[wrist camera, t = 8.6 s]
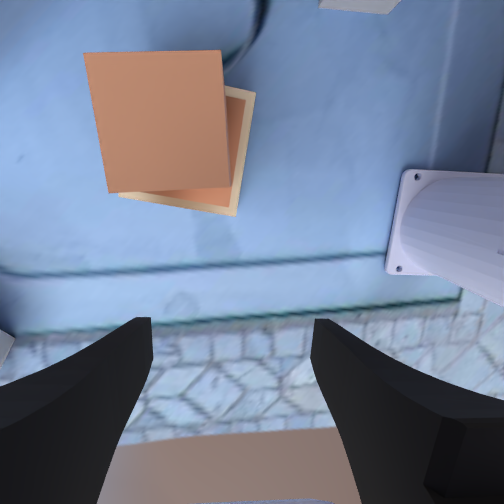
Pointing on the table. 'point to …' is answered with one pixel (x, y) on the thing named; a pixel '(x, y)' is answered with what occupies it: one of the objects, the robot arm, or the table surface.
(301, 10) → the table surface
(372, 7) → the grey block
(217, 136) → the terracotta block
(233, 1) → the table surface
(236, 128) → the maple base
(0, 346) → the die
